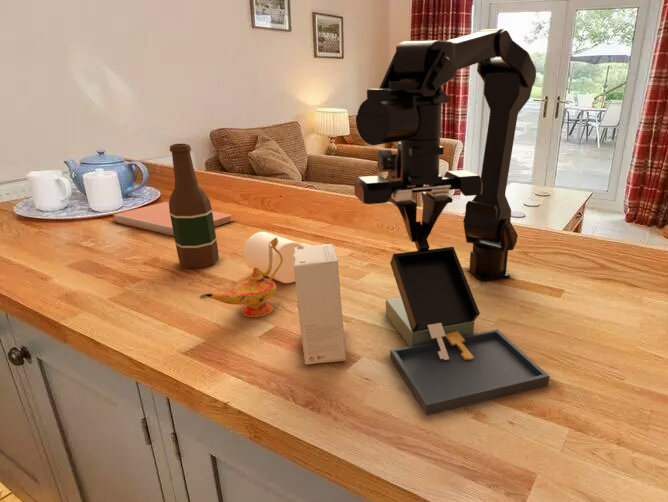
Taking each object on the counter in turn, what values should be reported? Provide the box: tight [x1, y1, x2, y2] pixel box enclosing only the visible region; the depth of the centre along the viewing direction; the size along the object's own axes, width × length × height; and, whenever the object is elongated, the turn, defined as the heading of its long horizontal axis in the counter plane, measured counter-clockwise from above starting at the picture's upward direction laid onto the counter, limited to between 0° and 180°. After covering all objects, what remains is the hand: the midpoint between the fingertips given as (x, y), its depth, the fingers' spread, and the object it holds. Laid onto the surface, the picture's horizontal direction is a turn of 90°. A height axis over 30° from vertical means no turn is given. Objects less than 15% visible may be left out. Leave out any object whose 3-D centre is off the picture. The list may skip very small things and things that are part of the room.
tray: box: [389, 328, 551, 416], centre depth 66 cm, size 17×13×1 cm
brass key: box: [445, 331, 474, 361], centre depth 70 cm, size 6×2×1 cm, turn 28°
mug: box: [242, 231, 311, 284], centre depth 96 cm, size 12×10×8 cm
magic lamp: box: [199, 237, 283, 318], centre depth 79 cm, size 7×18×11 cm, turn 153°
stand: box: [385, 296, 475, 347], centre depth 77 cm, size 12×10×3 cm
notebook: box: [112, 201, 235, 237], centre depth 129 cm, size 27×17×2 cm, turn 61°
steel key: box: [427, 323, 449, 361], centre depth 69 cm, size 6×2×1 cm
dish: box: [389, 220, 481, 332], centre depth 74 cm, size 17×10×3 cm
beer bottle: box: [168, 143, 220, 269], centre depth 98 cm, size 8×8×24 cm
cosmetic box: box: [293, 243, 347, 365], centre depth 68 cm, size 8×6×15 cm
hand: (418, 240), depth 77 cm, fingers closed on dish, 2 cm apart
